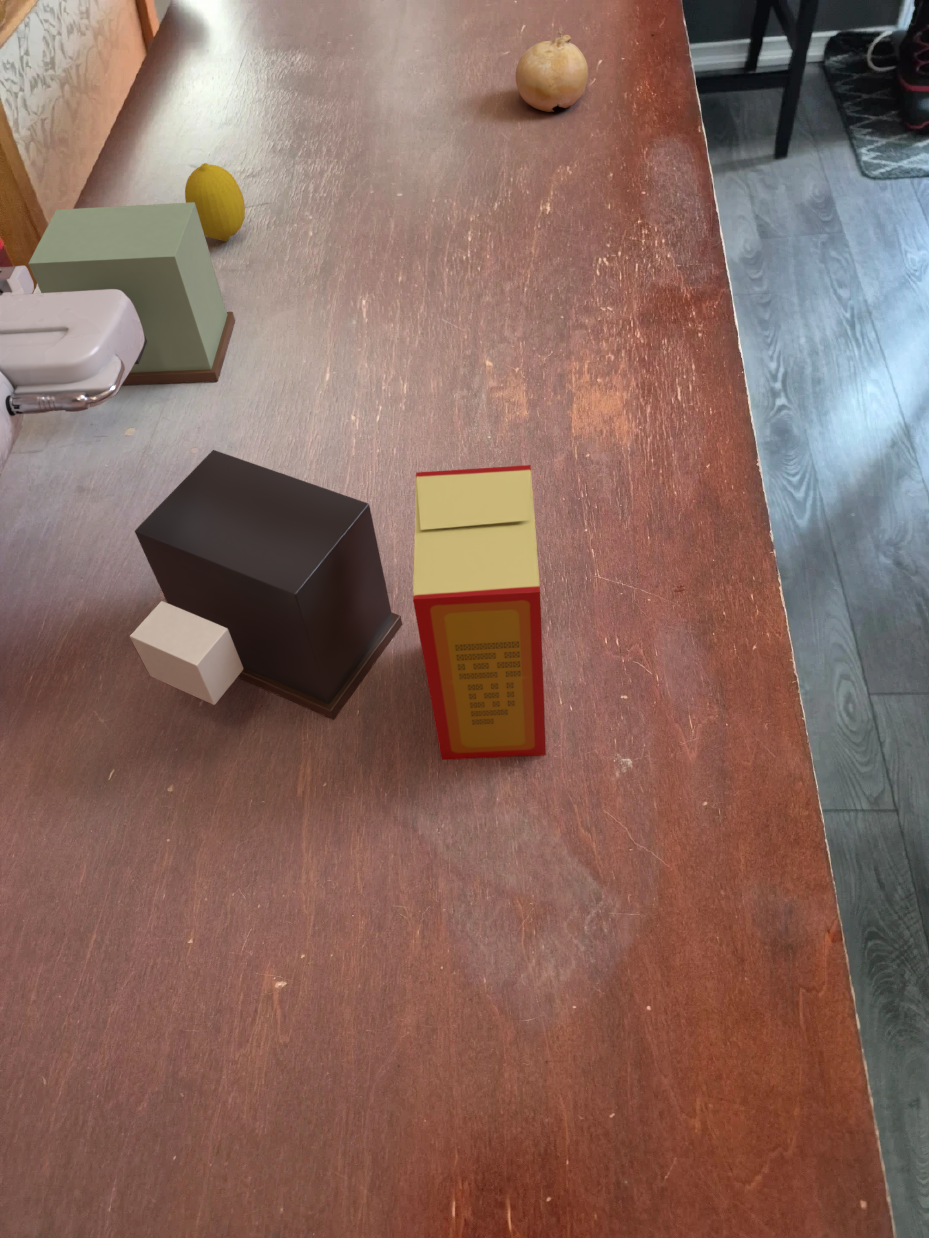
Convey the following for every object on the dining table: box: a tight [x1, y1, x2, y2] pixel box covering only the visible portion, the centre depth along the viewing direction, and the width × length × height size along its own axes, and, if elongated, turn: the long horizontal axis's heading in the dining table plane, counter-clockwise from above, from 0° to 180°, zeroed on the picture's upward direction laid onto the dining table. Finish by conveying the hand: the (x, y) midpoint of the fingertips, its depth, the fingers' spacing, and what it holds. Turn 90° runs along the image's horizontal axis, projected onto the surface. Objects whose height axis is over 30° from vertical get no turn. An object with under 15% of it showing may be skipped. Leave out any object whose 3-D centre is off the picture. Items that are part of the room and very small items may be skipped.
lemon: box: [184, 162, 246, 243], centre depth 104 cm, size 6×6×8 cm
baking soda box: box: [412, 464, 547, 761], centre depth 64 cm, size 10×6×16 cm
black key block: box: [134, 449, 403, 720], centre depth 69 cm, size 9×13×12 cm
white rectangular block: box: [129, 600, 244, 706], centre depth 64 cm, size 3×5×4 cm, turn 61°
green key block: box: [27, 202, 236, 386], centre depth 92 cm, size 9×13×12 cm
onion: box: [515, 27, 589, 113], centre depth 117 cm, size 8×8×7 cm
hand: (9, 276), depth 70 cm, fingers closed
